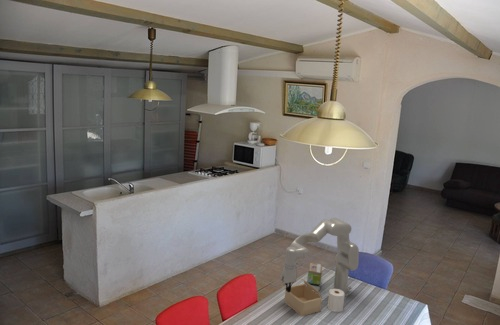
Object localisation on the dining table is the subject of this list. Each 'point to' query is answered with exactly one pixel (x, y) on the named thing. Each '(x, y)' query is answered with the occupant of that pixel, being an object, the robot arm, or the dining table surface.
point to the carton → (303, 300)
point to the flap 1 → (292, 294)
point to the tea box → (314, 275)
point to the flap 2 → (311, 287)
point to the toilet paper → (336, 300)
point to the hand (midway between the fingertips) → (288, 291)
